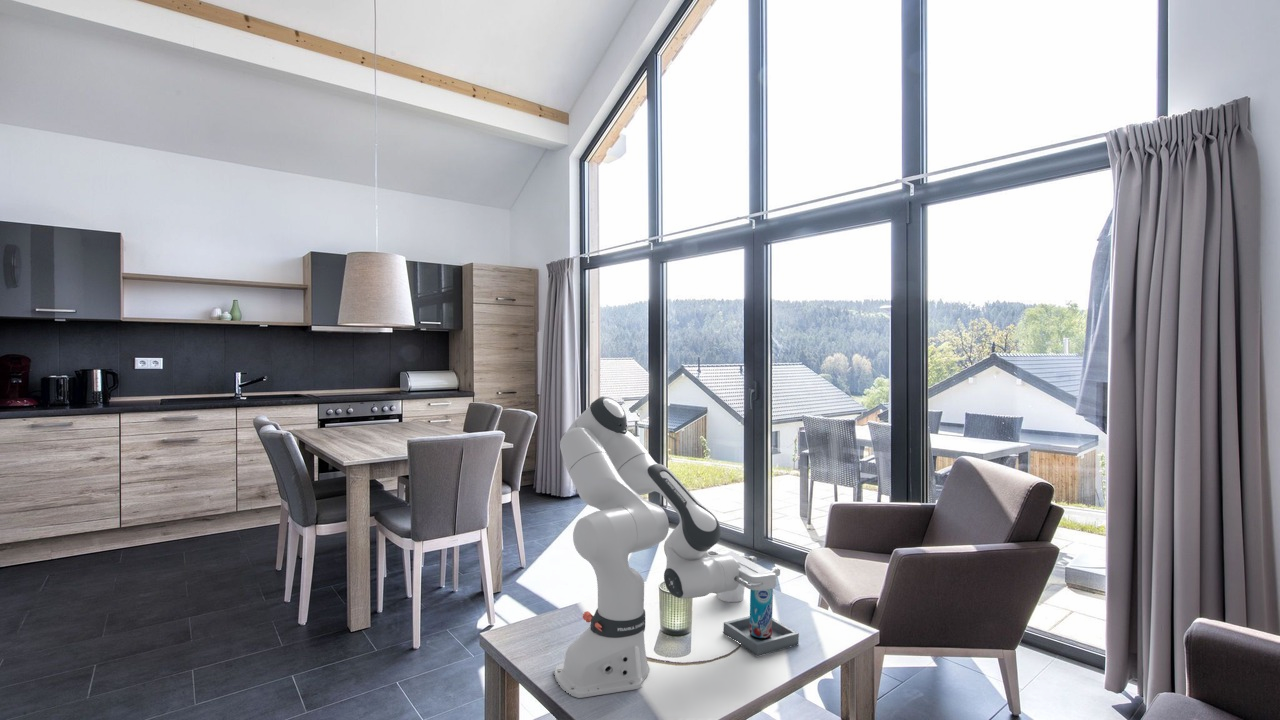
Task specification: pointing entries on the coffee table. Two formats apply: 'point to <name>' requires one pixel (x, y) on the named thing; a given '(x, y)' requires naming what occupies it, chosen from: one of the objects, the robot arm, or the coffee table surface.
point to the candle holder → (732, 594)
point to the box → (777, 641)
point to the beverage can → (761, 613)
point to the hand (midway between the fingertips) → (766, 565)
